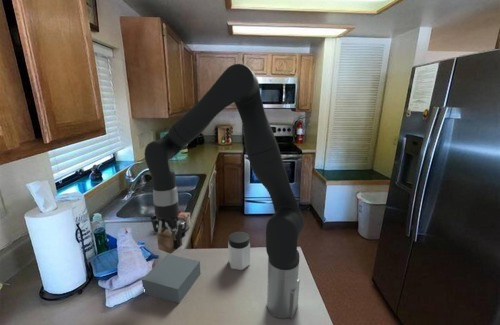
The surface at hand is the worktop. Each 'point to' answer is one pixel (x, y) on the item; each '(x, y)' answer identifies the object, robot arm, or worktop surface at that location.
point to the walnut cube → (166, 241)
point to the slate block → (171, 278)
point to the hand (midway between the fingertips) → (170, 245)
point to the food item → (184, 218)
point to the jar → (239, 250)
